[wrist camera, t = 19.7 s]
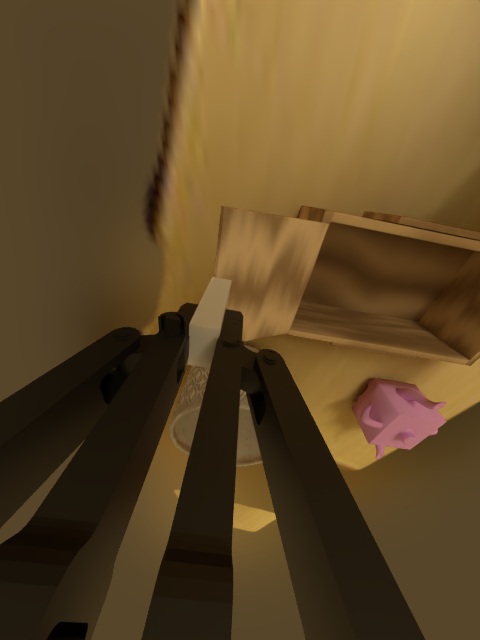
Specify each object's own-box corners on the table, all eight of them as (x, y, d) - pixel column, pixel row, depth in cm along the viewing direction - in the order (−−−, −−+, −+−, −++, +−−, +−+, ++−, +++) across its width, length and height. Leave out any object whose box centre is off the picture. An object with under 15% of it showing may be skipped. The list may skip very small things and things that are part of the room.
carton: (303, 199, 26) (329, 200, 17) (486, 237, 27) (593, 255, 19) (272, 303, 34) (280, 339, 26) (413, 328, 35) (465, 370, 27)
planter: (194, 395, 48) (175, 461, 36) (189, 334, 39) (160, 398, 26) (269, 401, 48) (275, 470, 36) (283, 342, 38) (299, 410, 26)
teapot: (415, 402, 46) (457, 453, 37) (356, 417, 50) (379, 466, 41) (405, 359, 39) (453, 409, 30) (338, 380, 43) (361, 430, 34)
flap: (324, 223, 18) (221, 205, 13) (329, 224, 17) (224, 206, 13) (285, 330, 24) (206, 344, 19) (287, 333, 24) (208, 347, 19)
